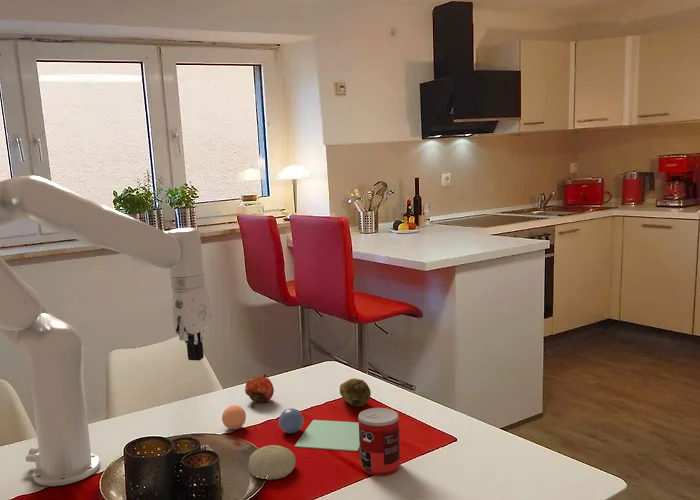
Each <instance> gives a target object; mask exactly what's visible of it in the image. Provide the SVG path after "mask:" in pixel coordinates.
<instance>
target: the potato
mask: <svg viewBox="0 0 700 500" xmlns="http://www.w3.org/2000/svg"><path fill="white" fill-rule="evenodd" d="M371 391H372V390H371V388H370V387H369V385H368V384H367V382H366V381H364V380H363V379H359V378H350V379H348V380H345V381H344V382H343V383H341V384H340V385H339V394H340V396H341V397H342V398H343V400H344V401H345V402H347V403H348V404H349V405H351V406H353V407H363V406H364V405H366V404H367V403H368V402H369V401H370V400H371V396H372V395H371V394H372V392H371Z"/></svg>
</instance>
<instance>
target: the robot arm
mask: <svg viewBox="0 0 700 500" xmlns="http://www.w3.org/2000/svg"><path fill="white" fill-rule="evenodd" d="M23 219H25V220H28V221H30V222H33V223H35V224H38V225H41V226H43V227H45V228H48V229H50V230H53V231H54V232H57V233H59V234H62V235H64V236H66V237H70V238H72V239H74V240H76V241H79V242H82V243H85V244H87V245H90V246H93V247H98V248H103V249H108V250H111V251H113V252H117V253H120V254H123V255H126V256H128V257H130V259H131V260H132V261H134V262H135V263H136V264H139V265H142V266H145V267H151V268H154V269H157V270H158V269H159V270H166V269H169V270H168V271H169V279H170V280H169V281H170V287H171V288H170V289H171V291H172V296H171V297H172V299H171V300H172V301H171V302H172V303H171V304H172V305H171V306H172V308H171V309H172V323H173V328H174V332H175V333H176V334H177V335H178V337H179V338H178V340H179V342H184V344H185V345H186V350H187V351H186V352H187V359H188V361H201V360H203V359H204V356H205V354H204V347H203V346H204V345H203V340H204V331H205V330H206V329H207V327H209V326H210V325H212V322H213V317H212V309H211V301H210V297H209V296H210V295H209V293H208V292H209V291H208V288H207V286H206V282H205V280H206V278H205V271H204V270H205V269H204V261H203V260H204V259H203V253H202V252H203V251H202V250H203V249H202V241H201V233H200V231H199V230H198V229H197V228H194V227H178V228H174V229H173V228H172V229H170V230H161V229H159V228H157V227H155V226H153V225H150V224H148V223H147V222H144V221H141V220H139V219H137V218H135V217H131V216H130V215H127V214H124V213H122V212H120V211H118V210H116V209H113V208H110V207H108V206H106V205H103V204H101V203H99V202H98V201H95V200H92V199H90V198H89V197H86V196H84V195H82V194H79V193H77V192H75V191H73V190H70V189H68V188H67V187H64V186H61V185H60V184H57V183H55V182H53V181H51V180H48V179H46V178H43V177H41V176H37V175H20V176H14V177H11V178H8V179H4V180H1V181H0V227H2V226H5V225H9V224H11V223H15V222H17V221H22V220H23ZM0 335H1V336H2V337H4V338H5V339H6V340H7V341H8V342H9V343H10V344H11V345H12V346H13V347H14V348H15V349H17V350H18V352H19V353H21V354H22V355H23V356H25V357H26V358H27V359H28V360H29V361H30V365H31V381H30V382H31V396H32V397H31V398H32V404H33V412H34V413H33V414H34V421H35V430H36V431H35V432H36V438H37V447H30V449H29V451H28V454H27V455H26V456H25V462H27V463H35V468H34V470H33V472H32V478H33V481H34V482H35V483H36V484H37V485H40V486H45V487H57V486H58V487H60V486H64V485H65V486H66V485H69V484H72V483H73V484H74V483H76V482H79V481H82V480H84V479H86V478H89V477H90V476H91V475H93V474H94V473H96V472H97V470H99V467H101V466H100V465H101V459H100V457H99V456H98V455H97V454H94V453H92V450H91V442H90V441H91V439H90V430H89V422H88V421H89V420H88V410H87V401H86V394H85V393H86V392H85V384H84V382H85V381H84V351H85V349H84V343H83V340H82V337H81V335H80V333H79V332H78V331H77V329H76V328H75V327H73V325H71V324H69V323H67V322H66V321H64V320H62V319H59V318H57V316H55V315H53V313H51V312H50V311H49V310H48V309H47V308H46V306H44V305H43V303H42V300H41V298H40V296H39V294H38V293H37V291H36V290H35V289H34V288H33V287H32V286H30V284H28V283H27V282H26V281H25V280H24V279H23V278H22V277H21V276H20V275H18V273H17V272H15V270H14V269H12V267H11V266H10V265H9V264H8V263H7V262H6V261H5V259H3V257H2V256H1V255H0Z"/></svg>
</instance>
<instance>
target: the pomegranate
mask: <svg viewBox="0 0 700 500" xmlns="http://www.w3.org/2000/svg"><path fill="white" fill-rule="evenodd" d="M266 375H267V374H266V373H264V374H263V375H257V376H254V377H251V378H249V379H248V380H247V382H246V383H245V389H244V391H245V395H247V396H248V398H249V399H250V400H251V401H253V403H252V404H251V406H250V408H251V409H253V407H254V406H255V404H256V402H258V403H259V402H262V403H268V402H269V401H271V399H272V398H273V396H274V392H275V390H274V385H273V382H272V381H271V380H270V379H269V378H267V377H266Z"/></svg>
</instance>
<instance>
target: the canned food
mask: <svg viewBox="0 0 700 500" xmlns="http://www.w3.org/2000/svg"><path fill="white" fill-rule="evenodd" d="M399 419H400V418H399V413H398V412H397V411H395V410H393V409H391V408H387V407H372V408H368V409H365V410H362V411H360V412H359V414H358V423H359V444H360V447H359V463H360V467H361V470H362V471H363V472H364V473H366V474H367V475H371V476H377V477H380V476H389V475H390V476H391V475H392V474H395V473H396V472H397V471H399V467H400V464H401V455H400V454H401V452H400V451H401V449H400V445H401V444H400V420H399Z"/></svg>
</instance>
